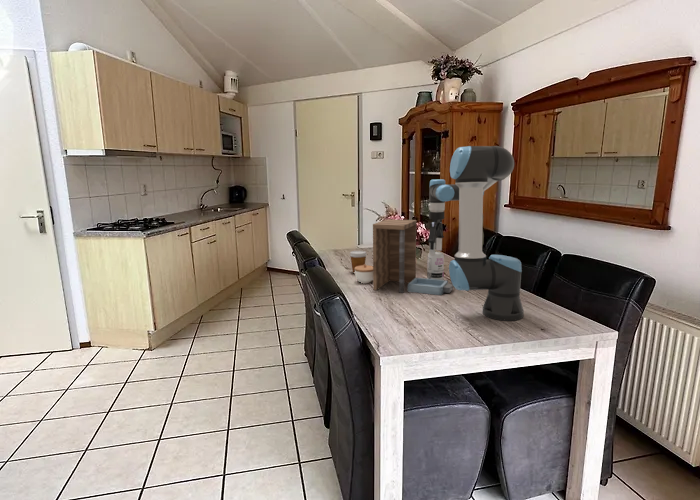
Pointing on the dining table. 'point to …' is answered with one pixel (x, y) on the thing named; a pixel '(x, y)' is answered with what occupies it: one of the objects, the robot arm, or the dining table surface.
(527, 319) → the dining table surface
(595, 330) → the dining table surface
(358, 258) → the disposable coffee cup
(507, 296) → the robot arm
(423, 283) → the tray
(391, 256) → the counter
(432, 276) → the supplement can
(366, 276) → the lidded jar
